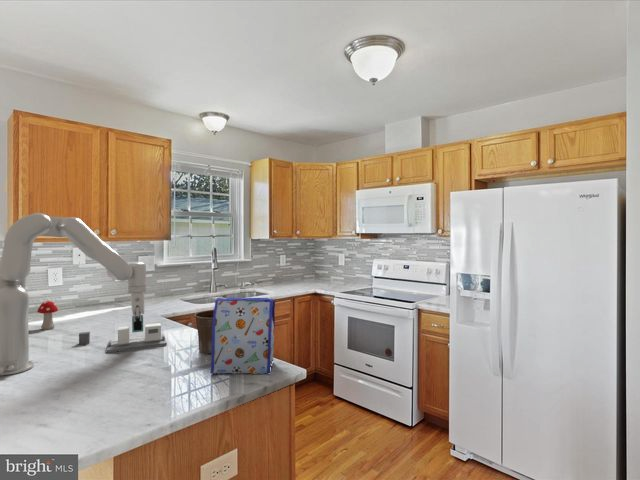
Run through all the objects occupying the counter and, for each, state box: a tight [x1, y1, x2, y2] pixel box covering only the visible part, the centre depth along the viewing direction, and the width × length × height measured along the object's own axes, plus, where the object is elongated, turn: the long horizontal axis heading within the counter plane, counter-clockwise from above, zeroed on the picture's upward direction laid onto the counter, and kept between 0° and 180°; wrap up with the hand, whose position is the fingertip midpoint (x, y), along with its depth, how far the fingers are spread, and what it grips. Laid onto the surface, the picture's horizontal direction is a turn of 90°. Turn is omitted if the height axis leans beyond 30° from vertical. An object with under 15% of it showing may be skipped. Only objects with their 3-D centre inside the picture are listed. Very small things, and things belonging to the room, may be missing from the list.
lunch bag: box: [210, 297, 276, 374], centre depth 139 cm, size 23×17×27 cm
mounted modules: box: [117, 322, 162, 344], centre depth 169 cm, size 6×18×6 cm, turn 117°
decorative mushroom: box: [37, 300, 59, 331], centre depth 199 cm, size 10×9×15 cm
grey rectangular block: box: [78, 331, 91, 346], centre depth 171 cm, size 3×4×5 cm
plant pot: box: [194, 309, 214, 355], centre depth 161 cm, size 16×16×16 cm
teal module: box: [131, 314, 144, 333], centre depth 169 cm, size 6×4×7 cm
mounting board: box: [105, 335, 168, 354], centre depth 169 cm, size 14×24×1 cm, turn 117°
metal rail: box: [107, 334, 166, 347], centre depth 169 cm, size 4×23×2 cm, turn 117°
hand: (137, 328), depth 169 cm, fingers closed on teal module, 5 cm apart
